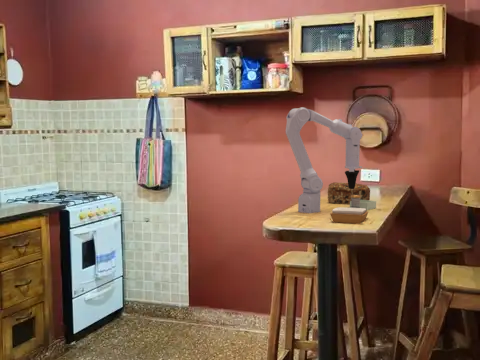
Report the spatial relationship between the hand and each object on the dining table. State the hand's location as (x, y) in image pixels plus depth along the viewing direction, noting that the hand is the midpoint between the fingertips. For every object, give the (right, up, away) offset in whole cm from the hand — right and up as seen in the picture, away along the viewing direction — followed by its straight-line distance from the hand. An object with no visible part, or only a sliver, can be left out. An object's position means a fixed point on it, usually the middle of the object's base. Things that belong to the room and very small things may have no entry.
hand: (351, 187), depth 237 cm
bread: (+5, -8, +32) cm, 34 cm away
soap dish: (-6, -13, -25) cm, 29 cm away
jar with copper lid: (0, -10, -8) cm, 13 cm away
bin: (+6, -10, +5) cm, 13 cm away
